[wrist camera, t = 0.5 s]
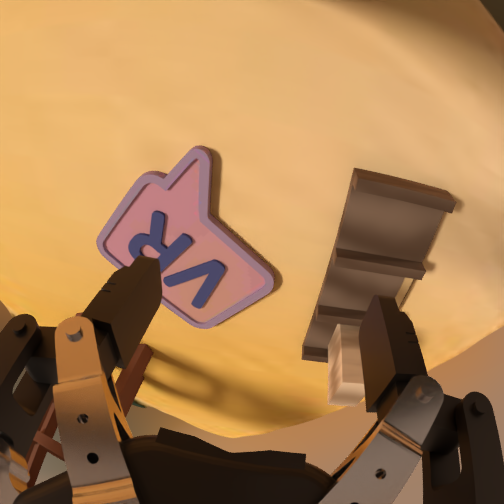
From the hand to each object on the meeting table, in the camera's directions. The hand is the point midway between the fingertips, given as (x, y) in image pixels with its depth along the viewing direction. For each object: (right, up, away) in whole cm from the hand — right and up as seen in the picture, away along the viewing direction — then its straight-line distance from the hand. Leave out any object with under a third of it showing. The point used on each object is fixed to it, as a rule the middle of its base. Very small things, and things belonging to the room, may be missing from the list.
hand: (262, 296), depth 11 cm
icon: (-7, +2, +24) cm, 25 cm away
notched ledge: (+13, -2, +22) cm, 25 cm away
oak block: (+12, -9, +26) cm, 30 cm away
